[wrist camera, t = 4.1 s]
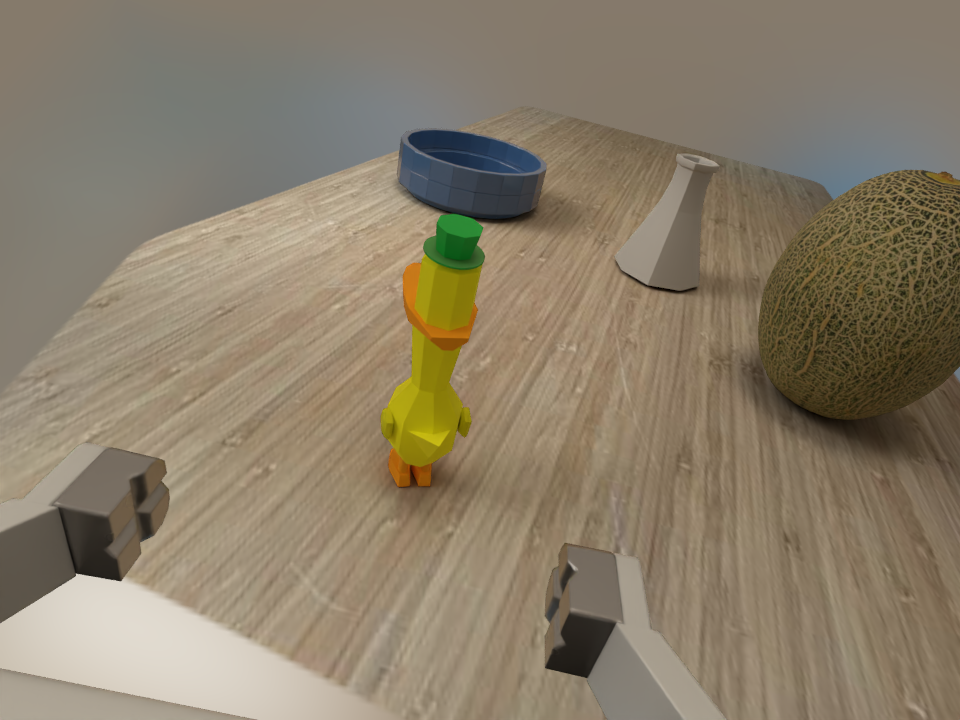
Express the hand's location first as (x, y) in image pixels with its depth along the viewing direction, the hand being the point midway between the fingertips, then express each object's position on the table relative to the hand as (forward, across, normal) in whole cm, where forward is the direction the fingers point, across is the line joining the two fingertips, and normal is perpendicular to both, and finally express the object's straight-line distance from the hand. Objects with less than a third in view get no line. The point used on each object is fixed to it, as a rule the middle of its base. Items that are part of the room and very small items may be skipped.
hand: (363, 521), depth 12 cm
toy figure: (+12, 0, +10) cm, 15 cm away
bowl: (+52, +2, +9) cm, 52 cm away
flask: (+42, -16, +10) cm, 46 cm away
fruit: (+26, -24, +10) cm, 36 cm away
